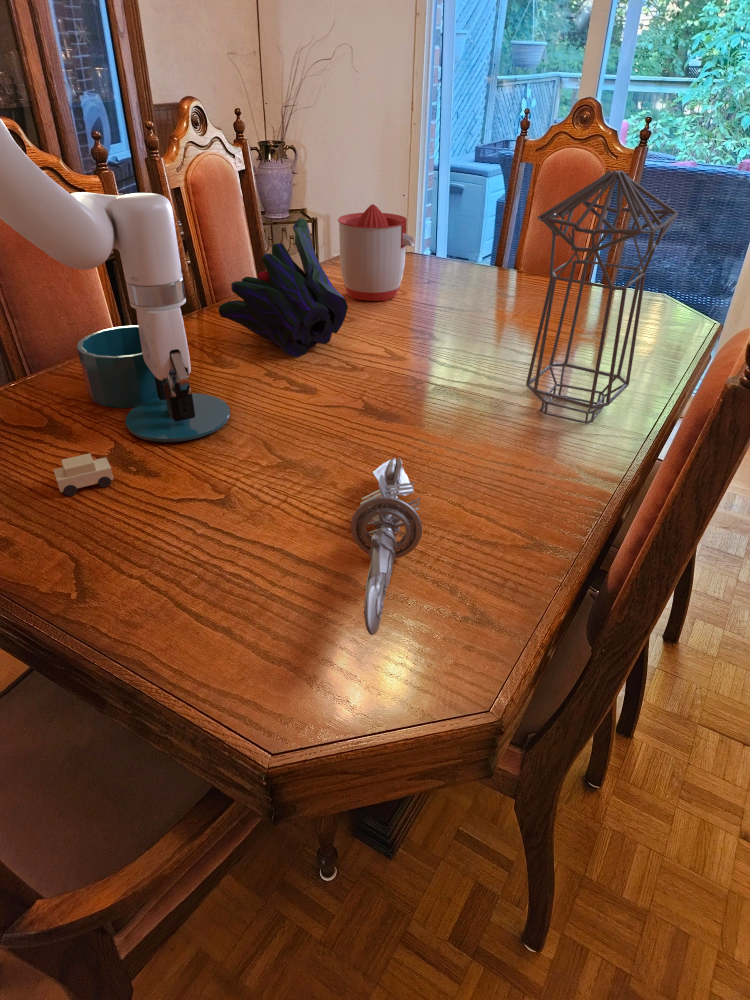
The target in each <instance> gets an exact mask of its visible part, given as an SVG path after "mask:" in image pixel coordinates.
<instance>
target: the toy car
mask: <svg viewBox="0 0 750 1000" xmlns="http://www.w3.org/2000/svg"><path fill="white" fill-rule="evenodd" d="M60 461H61V466H62V467H57V468H53V473H54V477H55V480H56V483H57V486H58V490H59V492H60V493H63V494H64V495H66V496H67V497H73V496H75V495H76V494H77V493H78V489H81V488H84V487H89V486H93V485H97V484H98V486H99V487H101V488H108V487H110V485H111V483H112V481H113V480H115V478H114V474H113V470H112V467H111V465H110V462H109V460H108V458H107V457H106V456H105V457H101V458H97V459H93V456H92V453H90V452H89V453H85V454H80V455H77V456H71V457H67V458H63V459H60Z"/></svg>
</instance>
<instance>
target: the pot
mask: <svg viewBox="0 0 750 1000" xmlns="http://www.w3.org/2000/svg"><path fill="white" fill-rule="evenodd" d="M76 351H77V354H78V359H79V363H80V366H81V370H82V374H83V378H84V382H85V385H86V390H87V394H88V395H89V397H90V400H92V402H94V403H96V404H98V405H100V406H103V407H107V408H115V409H131V408H132V409H133V408H135V407H136V406H138V405H140V404H141V403H143V402H146V401H148V400H151V399H154V398H157V397H158V393H157V388H156V382H155V377H154V375H153V373H152V372H151V370H150V369H149V368H148V366H147V365H146V363H145V361H144V359H143V354H142V347H141V340H140V334H139V327H138V324H137V325H123V326H115V327H110V328H106V329H101V330H99V331H95V332H93V333H90V334H87V335H86V336H84V337H83V338H81V339H80V340H79V341H78V343H77V346H76ZM171 372H175V371H171Z"/></svg>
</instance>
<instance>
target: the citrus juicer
mask: <svg viewBox="0 0 750 1000" xmlns="http://www.w3.org/2000/svg"><path fill="white" fill-rule="evenodd" d="M407 220H408V219H407V218H406V216H403V215H399V214H395V213H388V212H382V211H381V210H380V209H379V207H378V206H377V205H375V204H374V203H373V204H371V205H369V206H368V207H367V208H366V209H365V210H364V211H363V212H355V213H348V214H344V215H341V216H339V217H338V219H337V221H338V226H339V227H338V234H339V235H338V237H339V239H338V240H339V265H340V271H341V276H342V281H343V283H344V284H343V285H344V288H345V290H346V293H347V295H348V296H349V297H350V298H352V299H353V300H359V301H367V302H368V301H369V302H371V301H372V302H377V301H378V302H386V301H388V300H391V299H393V298H395V297H396V296H397V294H398V292H399V291H400V288H401V284H402V280H403V276H404V271H405V263H406V247H411V248H413V247H415V244H416V243H415V241H414V238H413V236H411V235H410V234H407V227H408V226H407V223H408V222H407Z"/></svg>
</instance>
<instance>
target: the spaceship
mask: <svg viewBox="0 0 750 1000" xmlns="http://www.w3.org/2000/svg"><path fill="white" fill-rule="evenodd" d="M372 474H373V476H374V478H375V479H376V481H377V482H378V483H377V485H378V488H379V489H377V490H375V491H373V492H371V493H369V494H367V495H365V496H363V497H362V498H361V502H360V505H359V506H358V507H357V508H356V510H355V511H354V513H353V515H352V517H351V521H350V533H351V536H352V539H353V541H354V542H355V544H356V545H357V547H358V548H359V549H360V550H362V551H363V553H365V554H366V555H368V559H369V561H370V565H369V568H368V573H367V577H366V583H365V596H364V608H363V618H364V625H365V628H366V632H367V633H368V634H369V635H370V636H374V635H376V634H377V633H378V631H379V629H380V625H381V622H382V621H381V620H382V616H383V611H384V605H385V604H384V602H385V598H386V594H387V589H388V587H389V584H390V582H391V576H392V575H393V567H394V563H395V561H396V559H399V558H403V557H405V556H406V555H408V554H410V553H411V552H412V551H414V550H415V548H417V546H418V545H419V543H420V541H421V538H422V535H423V524H422V520H421V518H420V517H421V516H419V514H418V512H417V511H418V510H420V509H421V507H420V506H419V505H421V497H419V498H415V499H414V500H412V501H410V502H405V501H403V500H401V499H399V497H398V496H403V497H405V496H408V495H412V494H414V493H415V491H414V490H415V486H414V485H415V482H413V481H411V482H410V479H409V477H408V474H406V471H405V469H404V467H403V461H402V459H401V458H400V457H397V458H395V457H393V458H391V459H389V460H387V461H385V462H383V463H382V464H381V465H380V466H378V467H377V468H376V469H375V470H374V471H372ZM419 501H420V502H419ZM416 502H417V503H416ZM368 525H373V526H374V527H375V528H376V529H374V530H370V531H368V529H367V528H368ZM402 527H404V530H405V532H403V531H402V530H401V528H402ZM400 533H401V534H400ZM396 535H398V536H399V537H402V538H401V539H400V541H398V540H397V536H396Z"/></svg>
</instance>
